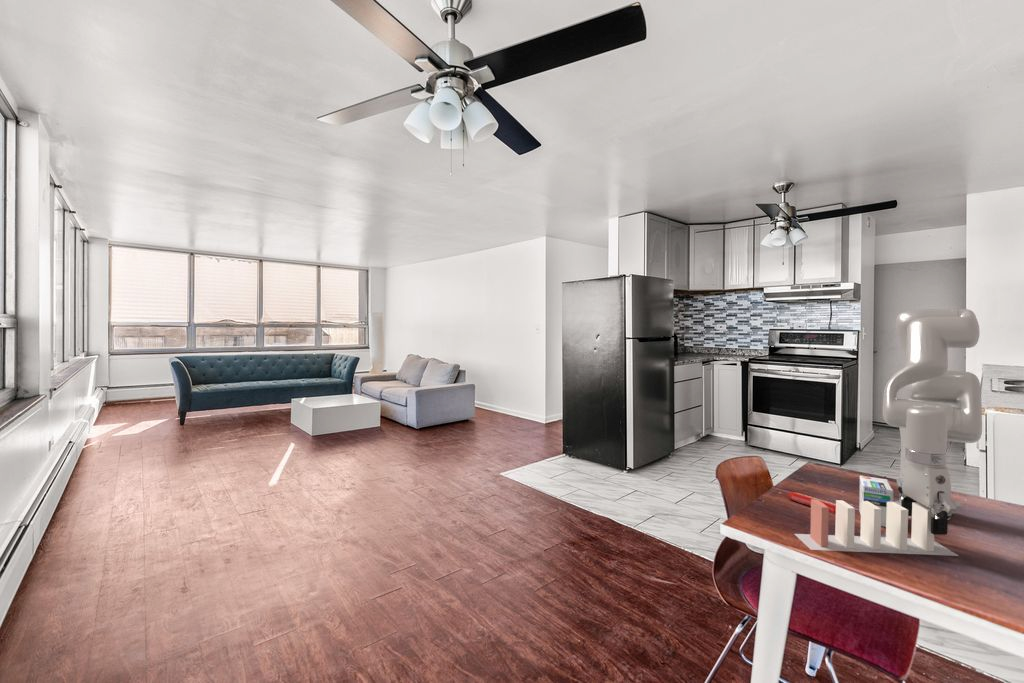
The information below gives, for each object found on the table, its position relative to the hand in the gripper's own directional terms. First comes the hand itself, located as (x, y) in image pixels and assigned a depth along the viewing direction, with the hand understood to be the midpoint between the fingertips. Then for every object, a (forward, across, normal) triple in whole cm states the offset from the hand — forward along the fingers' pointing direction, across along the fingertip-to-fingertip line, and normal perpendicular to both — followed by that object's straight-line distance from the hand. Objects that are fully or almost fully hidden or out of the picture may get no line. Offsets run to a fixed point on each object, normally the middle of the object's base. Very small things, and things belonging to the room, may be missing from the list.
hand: (923, 524), depth 115 cm
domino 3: (+5, -1, +13) cm, 14 cm away
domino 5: (+5, -1, +1) cm, 5 cm away
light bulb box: (+6, +15, +2) cm, 16 cm away
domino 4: (+5, -1, +7) cm, 8 cm away
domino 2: (+5, -1, +19) cm, 19 cm away
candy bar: (+7, +23, +13) cm, 28 cm away
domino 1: (+5, -1, +25) cm, 25 cm away
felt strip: (+5, -1, +12) cm, 13 cm away
